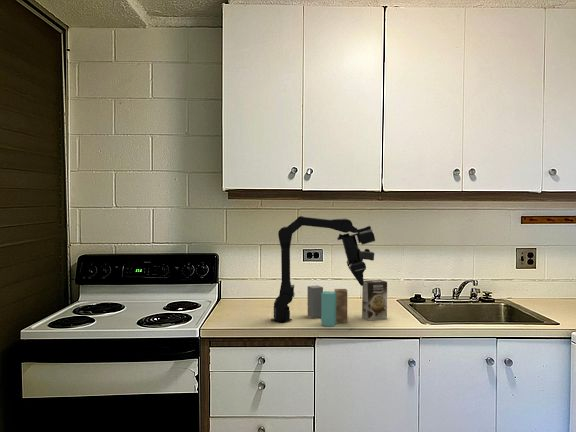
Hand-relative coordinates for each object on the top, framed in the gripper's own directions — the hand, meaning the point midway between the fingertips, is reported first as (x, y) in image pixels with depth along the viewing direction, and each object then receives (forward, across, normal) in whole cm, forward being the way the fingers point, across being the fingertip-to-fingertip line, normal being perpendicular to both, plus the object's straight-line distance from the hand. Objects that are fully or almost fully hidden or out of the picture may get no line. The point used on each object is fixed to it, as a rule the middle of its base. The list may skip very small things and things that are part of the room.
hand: (361, 283), depth 185 cm
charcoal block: (+10, +7, +23) cm, 26 cm away
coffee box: (+17, +6, -2) cm, 18 cm away
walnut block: (+13, 0, +12) cm, 18 cm away
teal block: (+12, -6, +17) cm, 22 cm away
